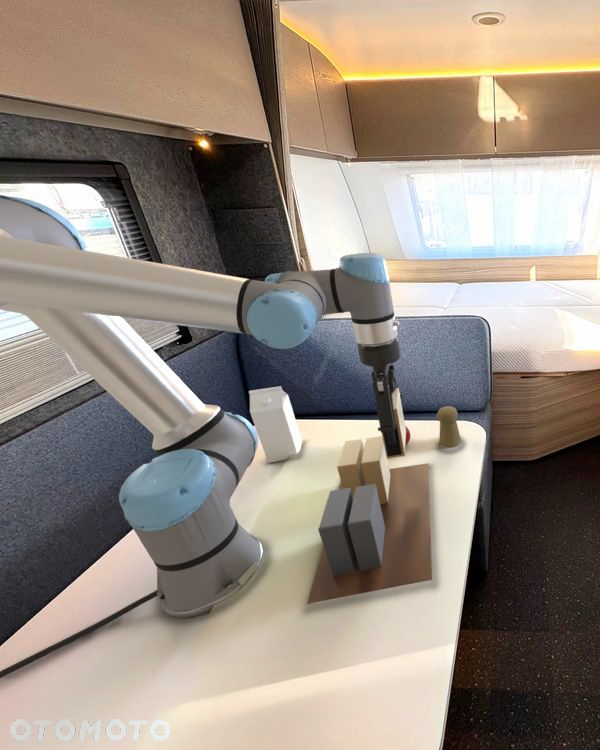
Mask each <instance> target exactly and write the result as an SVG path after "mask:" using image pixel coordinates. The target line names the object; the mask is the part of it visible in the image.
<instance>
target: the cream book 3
mask: <svg viewBox="0 0 600 750" xmlns="http://www.w3.org/2000/svg"><path fill="white" fill-rule="evenodd" d="M400 395H401V393H400V388H399V387H398V388H396V390H394V392H393V393H392V397H393V406H394V409H393V410H394V416H395V424H396V425H397V428H398V434H399V439H400V445H401V450H402V455H395V456H388V455H387V450H386V445H385V440H384V435H383V433H381V436H382V437H383V442H384V447H385V452H386V457H387V460H388V459H394V458H395V459H396V458H401V457H405V456H406V446H405V442H406V428H405V426H406V423H405V417H404V416H405V415H404V411H403V405H402V399H401V398H400ZM377 413H378V410H377Z"/></svg>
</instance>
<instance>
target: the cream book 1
mask: <svg viewBox="0 0 600 750" xmlns="http://www.w3.org/2000/svg"><path fill="white" fill-rule="evenodd" d="M364 448H365V446H364V442H363V439H362V438H358V439H351V440H345V441H344V445H343V448H342V451H341V454H340V458H339V461H338V464H337V465H336V466H337V467H336V469H337V473H338V475H339V479H340V483H342V487H343V489H346V488H350V489H351V493H352V497H353V499H354V494H355V489H356V487H359V486H365V485H366V484H365V480H364V475H363V471H362V467H361V462H362V457H363V452H364Z"/></svg>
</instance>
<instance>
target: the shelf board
mask: <svg viewBox="0 0 600 750" xmlns="http://www.w3.org/2000/svg"><path fill="white" fill-rule="evenodd" d="M389 470H390V485H389V495H388V503H384V504H380V506H381V511H382V515H383V520H384V525H385V534H384V544H383V554H382V564H381V565H382V567H380V568H374V569H369V570H364V571H360V568H359V565H358V561H357V560H356V566H355V572H353V573H347V574H342V575H336V576H333V574H332V571H331V568H330V564H329V561H328V558H327V555H326V552H325V549H324V546H323V545H322V548H321V552H320V555H319V560H318V563H317V566H316V569H315V574H314V578H313V581H312V583H311V584H312V585H311V589H310V593H309V596H308V600H307V605H308V604H314V603H319V602H325V601H329V600H335V599H339V598H345V597H350V596H354V595H360V594H361V595H362V594H365V593H370V592H376V591H381V590H387V589H392V588H396V587H401V586H407V585H412V584H417V583H418V584H419V583H423V582H428V581H433V567H432V566H433V565H432V562H433V561H432V536H431V533H432V532H431V509H430V508H431V506H430V481H429V479H430V478H429V477H430V476H429V463H423V464H422V463H420V464H415V465H408V466H401V467H394V468H389ZM339 489H343V487H342V483H341V482H339V486H338V490H339Z"/></svg>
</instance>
